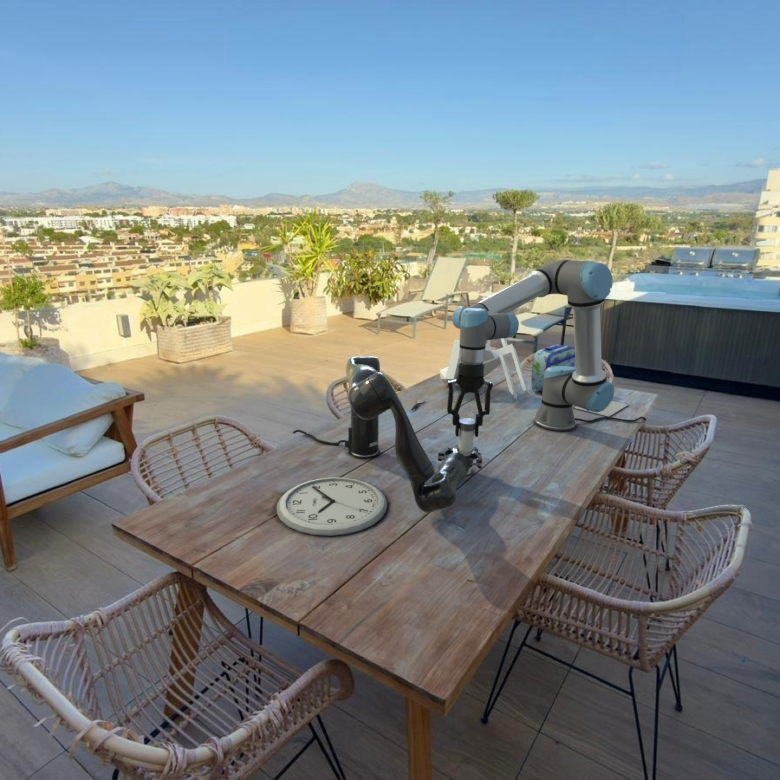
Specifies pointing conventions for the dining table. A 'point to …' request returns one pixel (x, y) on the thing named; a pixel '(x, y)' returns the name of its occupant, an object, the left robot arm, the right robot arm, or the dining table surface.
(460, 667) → the dining table surface
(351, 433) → the left robot arm
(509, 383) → the white plastic object
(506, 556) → the dining table surface
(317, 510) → the wall clock
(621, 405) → the invitation card
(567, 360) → the lunch box
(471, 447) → the off-white long cylinder
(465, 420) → the lid
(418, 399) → the fork
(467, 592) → the dining table surface
